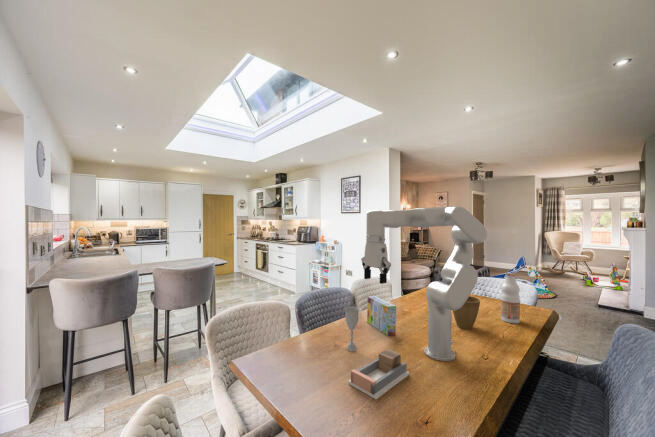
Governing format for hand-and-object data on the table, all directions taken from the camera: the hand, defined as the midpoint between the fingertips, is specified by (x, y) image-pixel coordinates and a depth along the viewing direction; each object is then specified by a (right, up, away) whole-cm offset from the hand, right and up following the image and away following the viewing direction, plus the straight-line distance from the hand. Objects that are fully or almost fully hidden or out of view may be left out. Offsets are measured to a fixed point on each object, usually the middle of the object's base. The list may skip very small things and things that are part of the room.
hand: (375, 280), depth 114 cm
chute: (-1, -33, -13) cm, 36 cm away
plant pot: (+57, -35, +38) cm, 77 cm away
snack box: (+9, -34, +35) cm, 50 cm away
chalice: (-9, -34, +11) cm, 36 cm away
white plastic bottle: (+89, -35, +48) cm, 107 cm away
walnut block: (+4, -32, -9) cm, 33 cm away
